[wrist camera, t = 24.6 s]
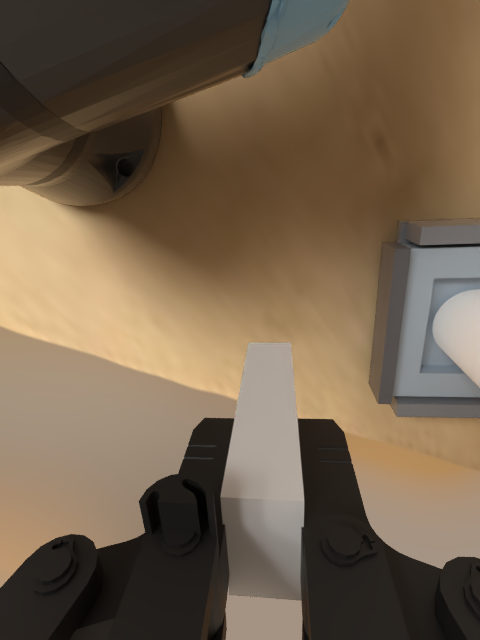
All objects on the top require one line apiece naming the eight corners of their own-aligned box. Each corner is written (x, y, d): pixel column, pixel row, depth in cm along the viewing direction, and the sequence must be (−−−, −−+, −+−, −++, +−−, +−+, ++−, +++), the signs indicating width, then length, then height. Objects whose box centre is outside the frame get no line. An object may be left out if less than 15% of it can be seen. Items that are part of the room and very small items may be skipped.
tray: (368, 383, 36) (378, 403, 33) (382, 242, 31) (395, 249, 27) (528, 384, 34) (555, 406, 31) (571, 235, 29) (609, 242, 26)
